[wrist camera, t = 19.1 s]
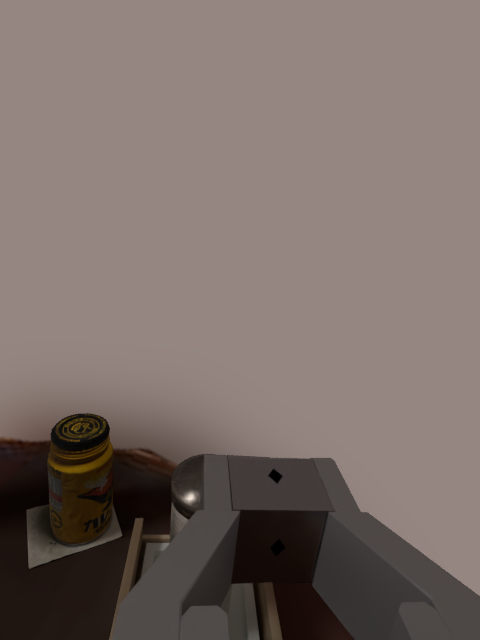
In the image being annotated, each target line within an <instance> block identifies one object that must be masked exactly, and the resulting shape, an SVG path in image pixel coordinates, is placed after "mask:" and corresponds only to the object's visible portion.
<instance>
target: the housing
mask: <svg viewBox="0 0 480 640" xmlns="http://www.w3.org/2000/svg"><path fill="white" fill-rule="evenodd" d="M169 540H170V535H143V518H136V519H135V524H134V528H133V533H132V537H131V542H130V547H129V551H128V556H127V560H126V565H125V570H124V574H123V579H122V583H121V588H120V593H119V597H118V602H117V606H116V611H115V615H114V620H113V625H112V629H111V634H110V638H109V640H112V637H113V632H114V627H115V623H116V618H117V614H118V609H119V604H120V603H121V602H122V601H123V599H124V598H125V597H126V596H127V595H128V593H129V592H130V591H131V590H132V589H133V587H134V586H135V585H136V584H137V583H138V581H139V580H140V579H141V573H142V568H143V562H144V556H145V550H146V544H147V543H169ZM253 591H254V599H255V607H256V615H257V623H258V631H259V639H260V640H282V634H281V629H280V623H279V617H278V612H277V606H276V600H275V595H274V589H273V584H272V582H267V583H253Z"/></svg>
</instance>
